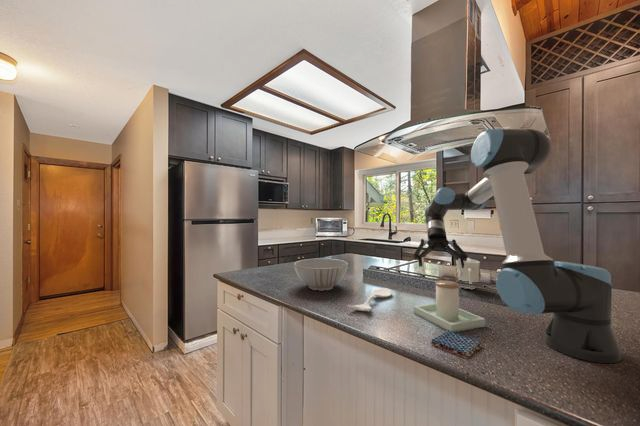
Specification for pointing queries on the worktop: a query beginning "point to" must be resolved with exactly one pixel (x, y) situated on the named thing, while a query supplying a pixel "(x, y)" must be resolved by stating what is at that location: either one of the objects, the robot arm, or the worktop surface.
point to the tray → (464, 322)
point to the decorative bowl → (321, 272)
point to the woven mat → (456, 343)
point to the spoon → (375, 293)
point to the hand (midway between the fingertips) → (442, 273)
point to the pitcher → (469, 271)
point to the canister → (447, 300)
